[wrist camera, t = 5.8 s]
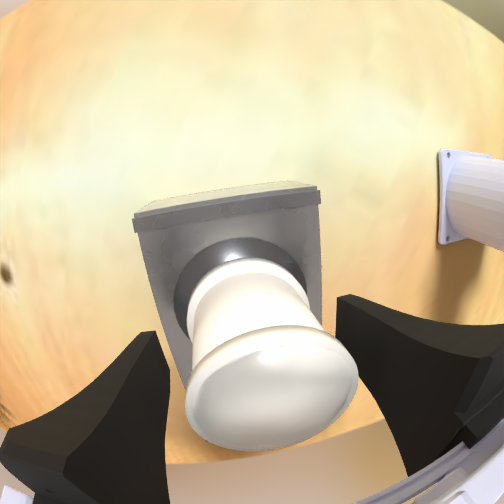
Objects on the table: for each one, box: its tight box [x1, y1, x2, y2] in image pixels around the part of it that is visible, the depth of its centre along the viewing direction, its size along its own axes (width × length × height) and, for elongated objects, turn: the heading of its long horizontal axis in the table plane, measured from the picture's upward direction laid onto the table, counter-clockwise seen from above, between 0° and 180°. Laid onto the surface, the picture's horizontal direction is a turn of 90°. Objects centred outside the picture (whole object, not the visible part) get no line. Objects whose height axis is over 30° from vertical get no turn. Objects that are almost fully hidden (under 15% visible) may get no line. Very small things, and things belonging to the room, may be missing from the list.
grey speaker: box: [132, 181, 322, 441], centre depth 16 cm, size 8×16×5 cm, turn 7°
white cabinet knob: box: [185, 257, 359, 452], centre depth 10 cm, size 6×6×6 cm
